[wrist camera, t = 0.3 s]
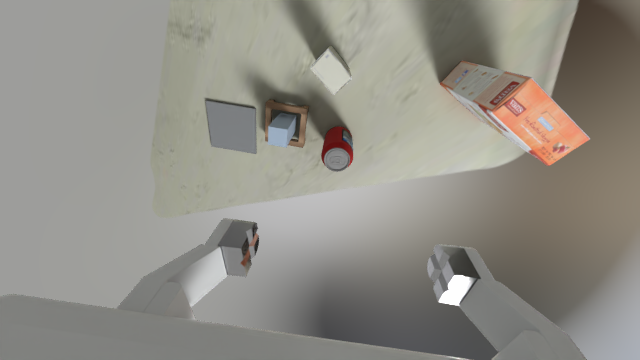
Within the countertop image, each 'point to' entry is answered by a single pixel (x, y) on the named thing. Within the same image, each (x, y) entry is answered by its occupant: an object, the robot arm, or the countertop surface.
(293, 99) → the countertop surface
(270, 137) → the peg
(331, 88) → the skincare box
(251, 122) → the mat
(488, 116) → the cracker box
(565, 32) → the countertop surface
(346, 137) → the beverage can
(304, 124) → the wooden square frame
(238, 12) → the countertop surface
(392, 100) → the countertop surface
